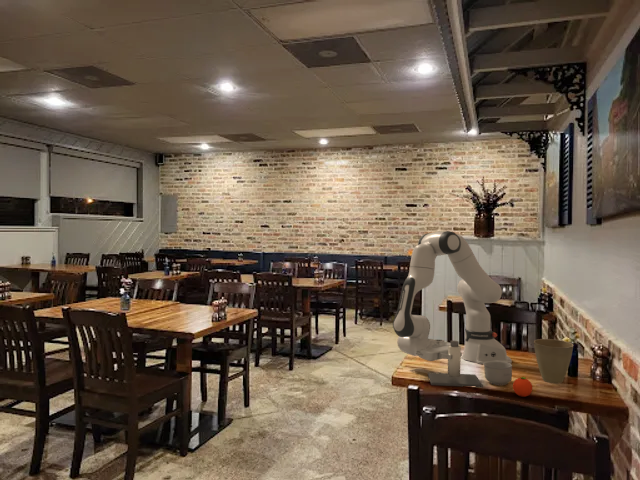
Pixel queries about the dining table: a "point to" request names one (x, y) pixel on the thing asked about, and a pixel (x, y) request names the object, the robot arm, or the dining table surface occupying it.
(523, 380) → the clementine
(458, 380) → the slate board
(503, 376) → the teacup
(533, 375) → the dining table surface
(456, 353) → the pepper mill
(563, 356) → the plant pot
